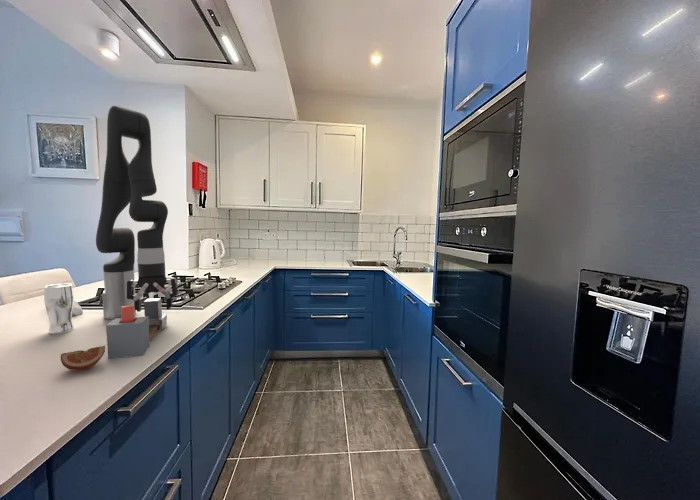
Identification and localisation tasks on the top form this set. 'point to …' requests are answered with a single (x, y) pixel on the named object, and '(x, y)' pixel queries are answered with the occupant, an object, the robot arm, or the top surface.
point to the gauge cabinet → (127, 338)
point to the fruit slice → (82, 358)
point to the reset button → (127, 314)
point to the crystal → (76, 309)
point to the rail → (153, 331)
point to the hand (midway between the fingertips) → (154, 310)
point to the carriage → (155, 312)
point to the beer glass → (59, 307)
